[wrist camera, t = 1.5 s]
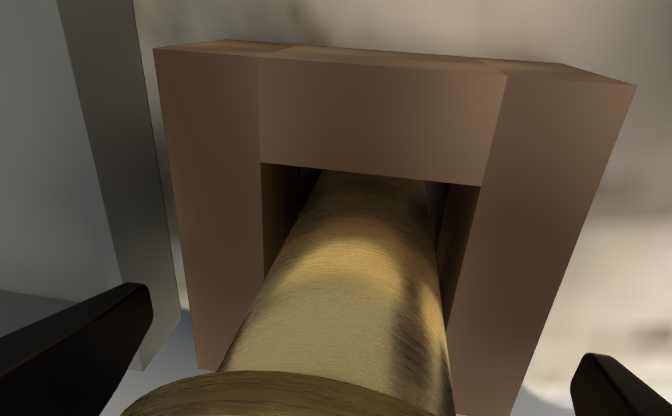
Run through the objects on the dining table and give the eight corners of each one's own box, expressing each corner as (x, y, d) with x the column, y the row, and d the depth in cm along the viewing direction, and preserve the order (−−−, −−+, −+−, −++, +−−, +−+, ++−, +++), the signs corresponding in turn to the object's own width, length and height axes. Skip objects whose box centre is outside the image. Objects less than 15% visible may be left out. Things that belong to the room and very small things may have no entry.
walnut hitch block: (562, 64, 11) (637, 86, 8) (483, 329, 16) (506, 422, 12) (225, 39, 12) (152, 48, 9) (242, 293, 17) (198, 368, 13)
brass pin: (466, 132, 12) (770, 689, 2) (436, 277, 15) (508, 853, 5) (294, 116, 13) (-116, 481, 3) (292, 256, 15) (76, 724, 5)
